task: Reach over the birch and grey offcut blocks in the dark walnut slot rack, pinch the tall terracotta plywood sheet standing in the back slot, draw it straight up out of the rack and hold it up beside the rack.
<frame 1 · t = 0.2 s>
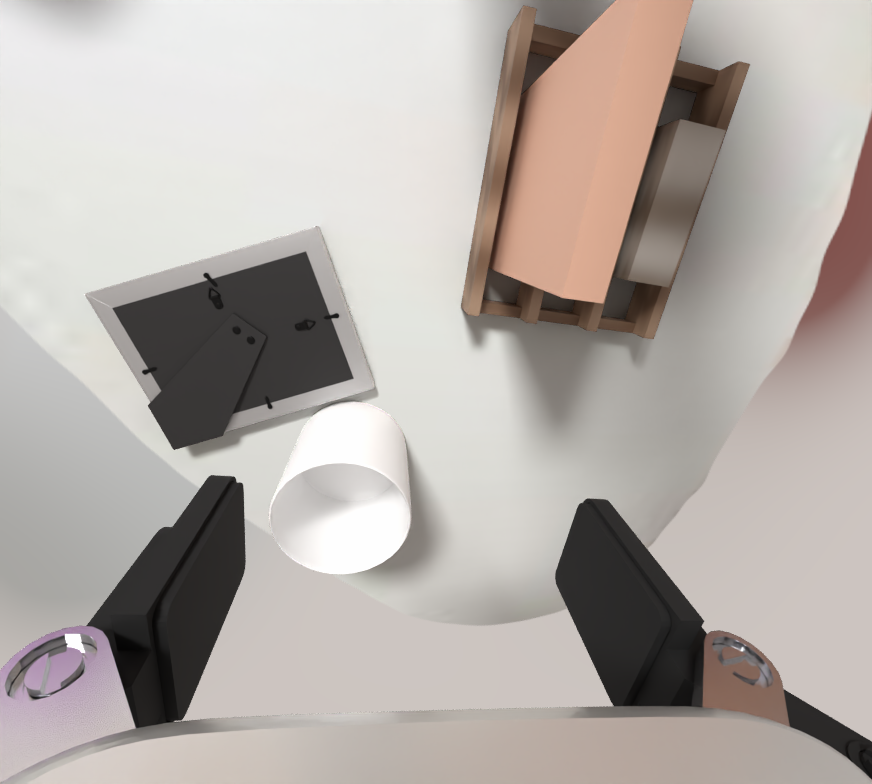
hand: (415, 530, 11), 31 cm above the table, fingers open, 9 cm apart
offcut rack: (563, 198, 37), on the table
plywood sheet: (516, 190, 37), resting in offcut rack
cup: (353, 448, 45), on the table
picture frame: (248, 339, 40), on the table
grey offcut: (633, 212, 39), resting in offcut rack
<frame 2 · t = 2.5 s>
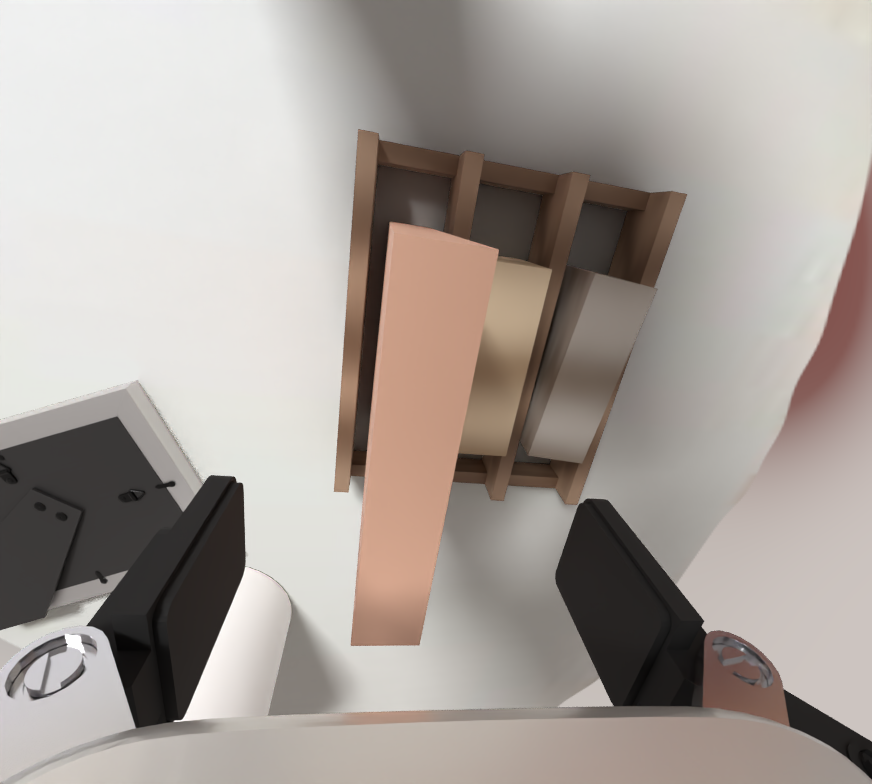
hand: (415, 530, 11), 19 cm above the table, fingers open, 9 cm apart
offcut rack: (458, 338, 29), on the table
plywood sheet: (396, 330, 28), resting in offcut rack
cup: (227, 607, 37), on the table
picture frame: (73, 500, 32), on the table
grey offcut: (552, 349, 30), resting in offcut rack
birch offcut: (474, 340, 30), resting in offcut rack
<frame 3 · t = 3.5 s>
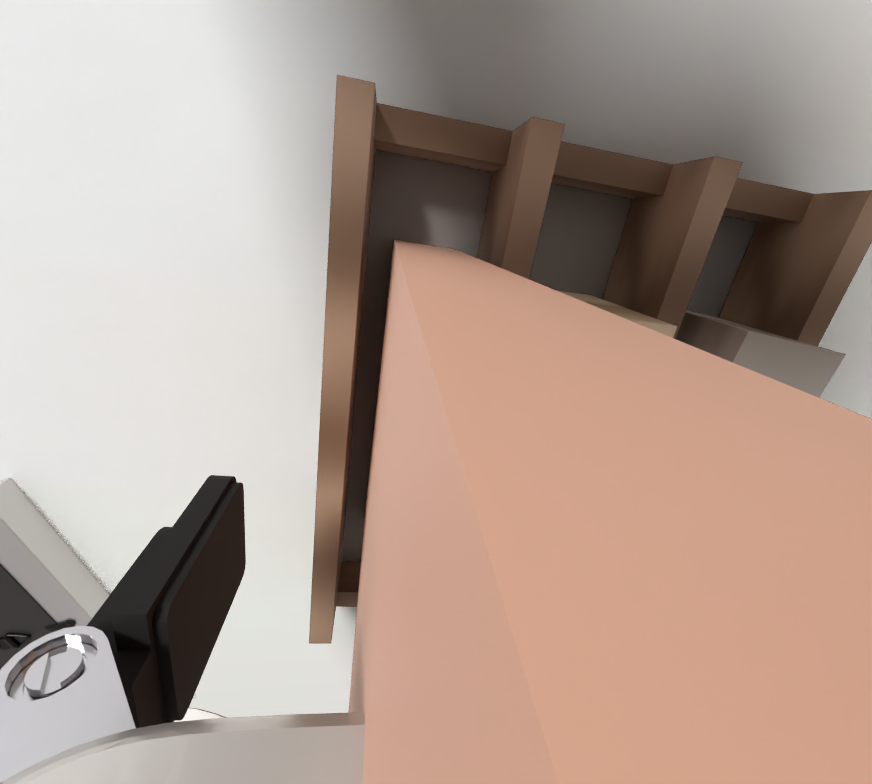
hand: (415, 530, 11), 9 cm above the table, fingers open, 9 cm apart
offcut rack: (495, 409, 20), on the table
plywood sheet: (403, 400, 19), resting in offcut rack
cup: (171, 755, 28), on the table
grey offcut: (628, 421, 21), resting in offcut rack
birch offcut: (518, 411, 20), resting in offcut rack
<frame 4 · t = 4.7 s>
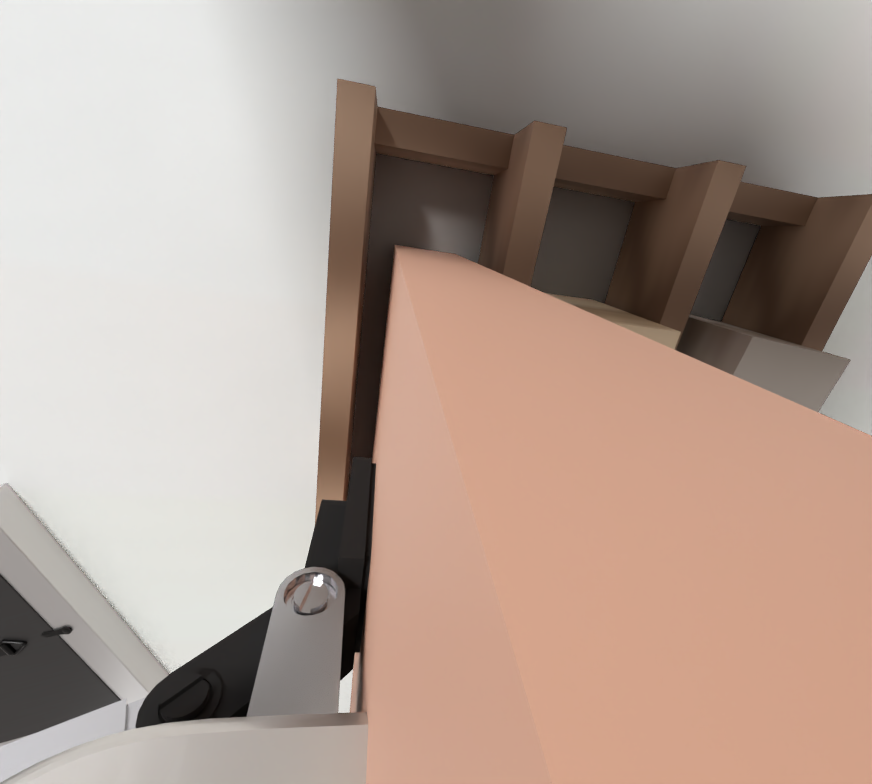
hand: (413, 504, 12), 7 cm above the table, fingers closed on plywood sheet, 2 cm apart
offcut rack: (496, 414, 20), on the table
plywood sheet: (404, 406, 19), resting in offcut rack, touching gripper
grey offcut: (630, 425, 21), resting in offcut rack
birch offcut: (519, 415, 20), resting in offcut rack
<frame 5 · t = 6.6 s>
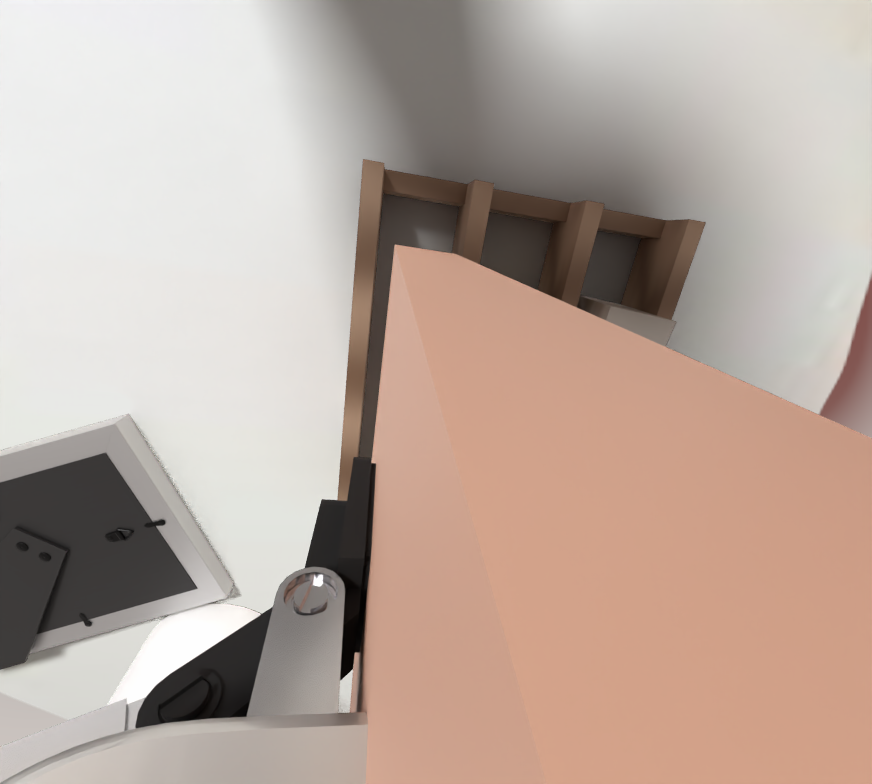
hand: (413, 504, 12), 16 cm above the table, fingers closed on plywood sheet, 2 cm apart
offcut rack: (466, 368, 28), on the table
plywood sheet: (404, 406, 19), point 9 cm above the table, touching gripper
cup: (221, 649, 35), on the table
picture frame: (59, 537, 30), on the table
grey offcut: (563, 379, 29), resting in offcut rack
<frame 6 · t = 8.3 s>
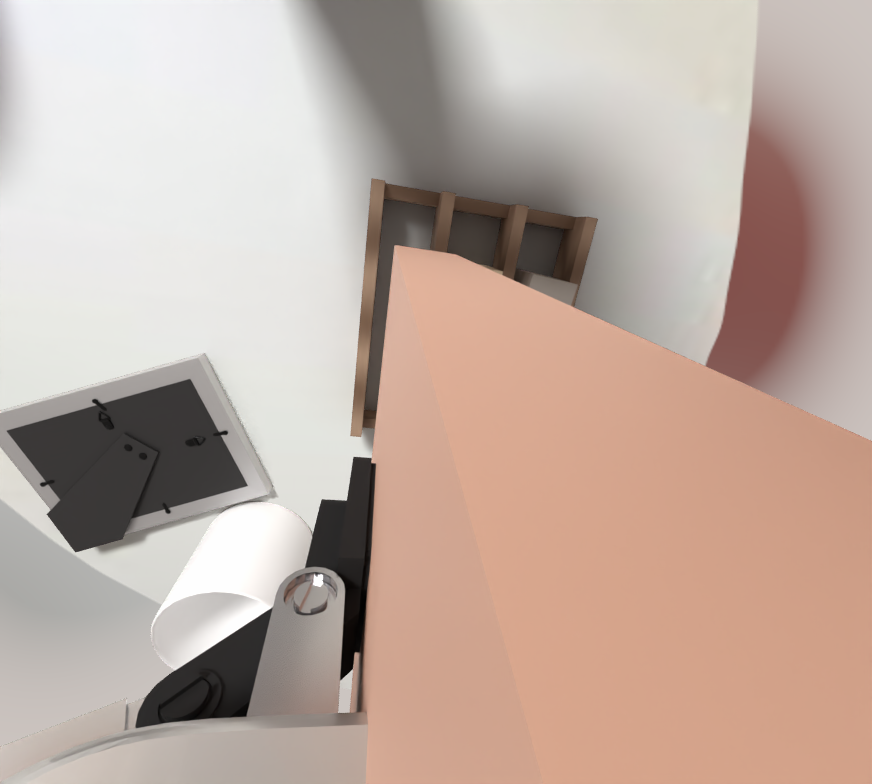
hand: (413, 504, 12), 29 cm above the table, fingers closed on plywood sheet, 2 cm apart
offcut rack: (443, 323, 39), on the table
plywood sheet: (404, 406, 19), point 21 cm above the table, touching gripper
cup: (262, 541, 47), on the table
picture frame: (147, 447, 42), on the table
grey offcut: (513, 332, 41), resting in offcut rack
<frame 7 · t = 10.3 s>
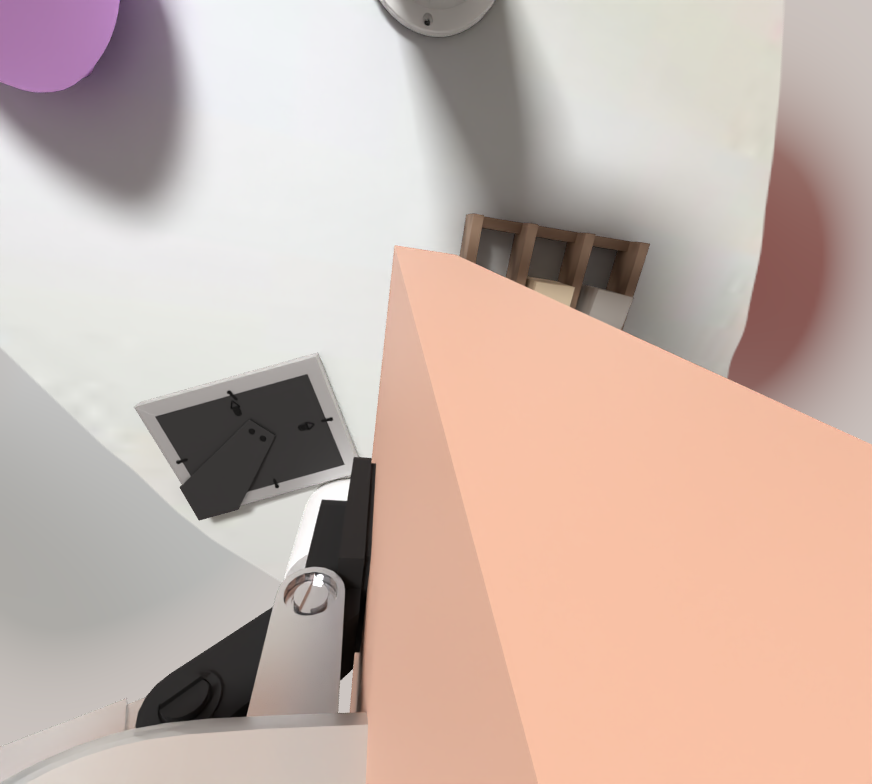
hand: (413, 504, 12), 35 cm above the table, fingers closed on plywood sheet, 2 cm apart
offcut rack: (514, 327, 47), on the table
plywood sheet: (404, 407, 19), point 28 cm above the table, touching gripper
cup: (349, 513, 55), on the table
picture frame: (260, 432, 50), on the table
grey offcut: (571, 335, 48), resting in offcut rack
birch offcut: (523, 329, 47), resting in offcut rack
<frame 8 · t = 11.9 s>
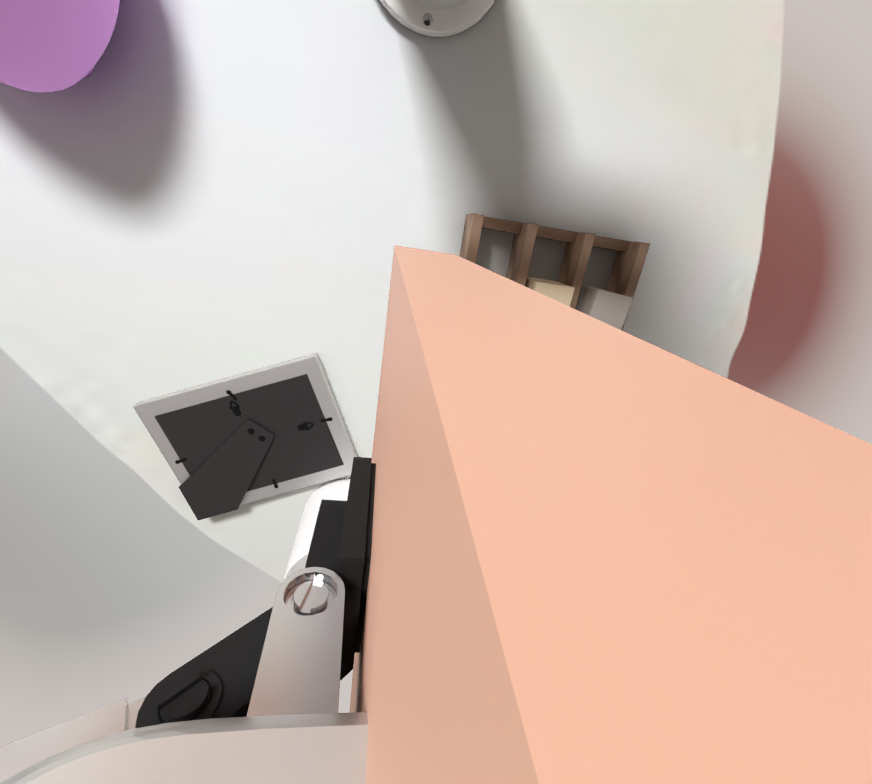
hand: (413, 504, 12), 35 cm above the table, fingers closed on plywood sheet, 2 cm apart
offcut rack: (514, 327, 47), on the table
plywood sheet: (404, 407, 19), point 28 cm above the table, touching gripper
cup: (349, 513, 55), on the table
picture frame: (259, 432, 50), on the table
grey offcut: (571, 335, 48), resting in offcut rack
birch offcut: (523, 329, 47), resting in offcut rack
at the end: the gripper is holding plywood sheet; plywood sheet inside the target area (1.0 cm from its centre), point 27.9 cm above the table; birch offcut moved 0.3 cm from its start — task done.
